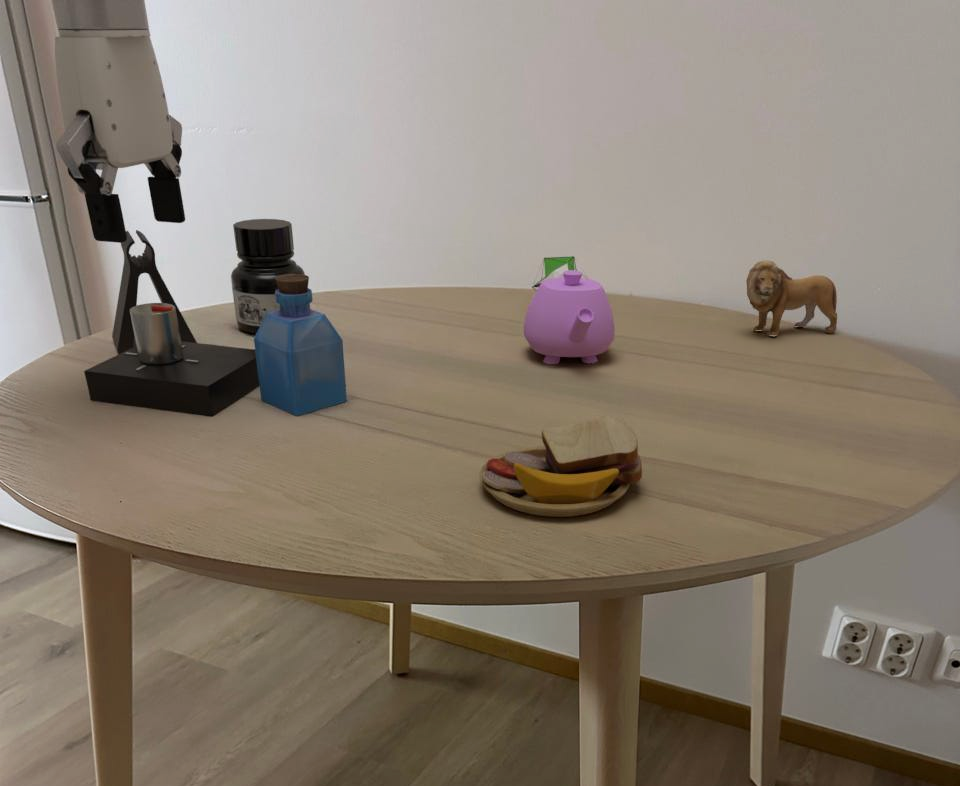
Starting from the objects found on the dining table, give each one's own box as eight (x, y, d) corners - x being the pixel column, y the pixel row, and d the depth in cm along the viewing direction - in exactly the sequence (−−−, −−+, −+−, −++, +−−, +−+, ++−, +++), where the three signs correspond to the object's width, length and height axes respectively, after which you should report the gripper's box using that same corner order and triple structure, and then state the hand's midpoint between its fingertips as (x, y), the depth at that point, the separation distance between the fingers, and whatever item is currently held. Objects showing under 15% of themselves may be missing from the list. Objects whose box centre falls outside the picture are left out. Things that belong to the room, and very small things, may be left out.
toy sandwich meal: (477, 458, 83) (478, 407, 80) (628, 459, 83) (633, 408, 80) (480, 522, 72) (481, 465, 69) (652, 522, 72) (659, 466, 70)
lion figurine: (752, 344, 113) (766, 266, 108) (727, 332, 117) (739, 257, 112) (848, 332, 117) (866, 257, 112) (820, 321, 121) (836, 248, 116)
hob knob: (130, 362, 94) (119, 308, 91) (155, 349, 98) (145, 298, 95) (168, 366, 93) (158, 312, 90) (191, 354, 97) (183, 301, 94)
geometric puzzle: (524, 283, 128) (536, 241, 120) (571, 281, 129) (586, 239, 122) (535, 326, 125) (548, 286, 118) (582, 323, 127) (598, 283, 119)
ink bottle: (220, 328, 115) (205, 225, 108) (269, 313, 121) (257, 214, 115) (279, 341, 111) (267, 234, 104) (326, 324, 117) (318, 222, 111)
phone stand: (189, 332, 114) (172, 227, 107) (197, 346, 109) (180, 237, 102) (112, 340, 111) (90, 232, 104) (117, 354, 106) (94, 242, 99)
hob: (90, 400, 94) (83, 369, 92) (157, 365, 103) (152, 336, 101) (212, 416, 90) (207, 384, 89) (270, 378, 100) (267, 349, 98)
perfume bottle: (310, 386, 98) (300, 267, 91) (346, 401, 94) (338, 278, 88) (261, 399, 94) (246, 276, 88) (296, 415, 91) (283, 289, 84)
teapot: (598, 338, 114) (605, 258, 109) (627, 377, 102) (636, 289, 96) (515, 339, 113) (518, 258, 108) (534, 379, 101) (538, 290, 95)
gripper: (124, 15, 87) (159, 213, 96) (-7, 17, 73) (49, 246, 83) (194, 16, 85) (222, 217, 95) (73, 18, 71) (121, 252, 81)
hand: (142, 231), depth 89 cm, fingers open, 9 cm apart
